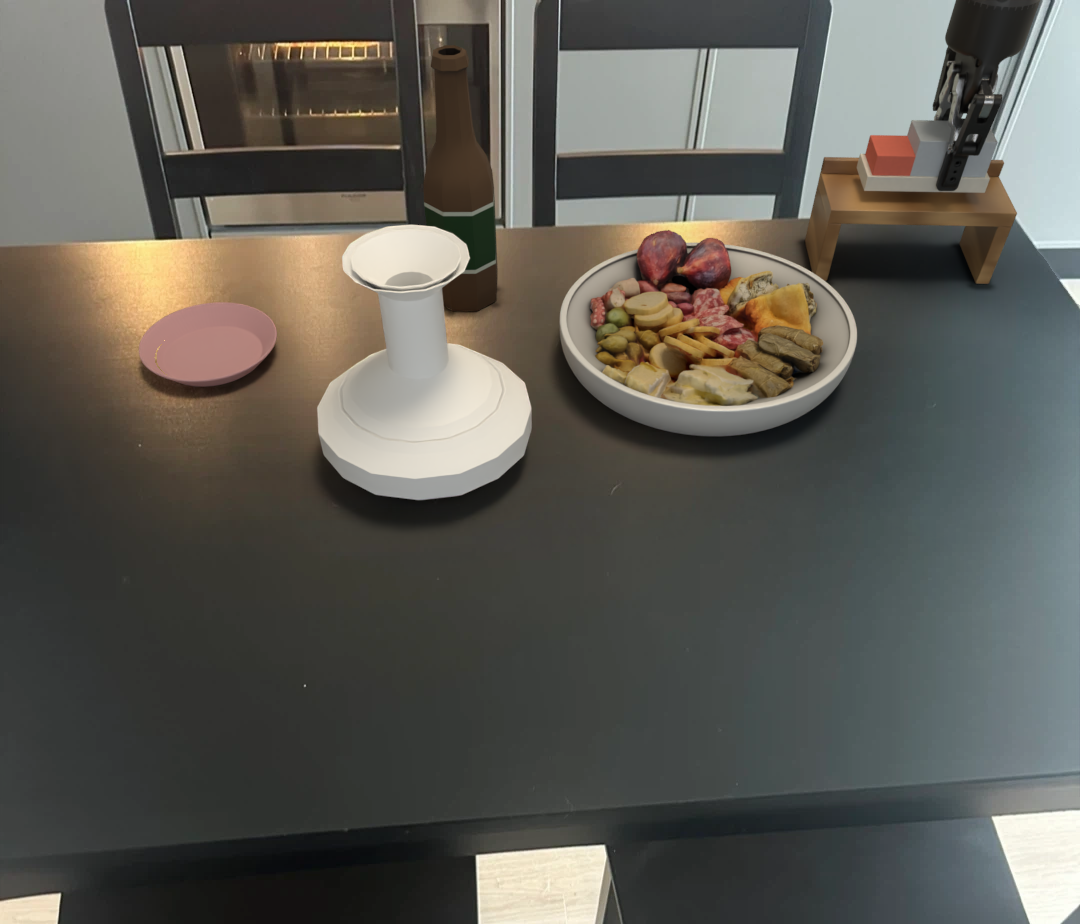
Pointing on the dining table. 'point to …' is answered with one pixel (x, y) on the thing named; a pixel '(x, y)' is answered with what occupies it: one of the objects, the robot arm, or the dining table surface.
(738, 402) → the bowl
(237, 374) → the plate
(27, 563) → the dining table surface
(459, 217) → the beer bottle
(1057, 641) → the dining table surface
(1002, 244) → the shoe shelf
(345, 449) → the candle holder
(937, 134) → the stepped block with orange
